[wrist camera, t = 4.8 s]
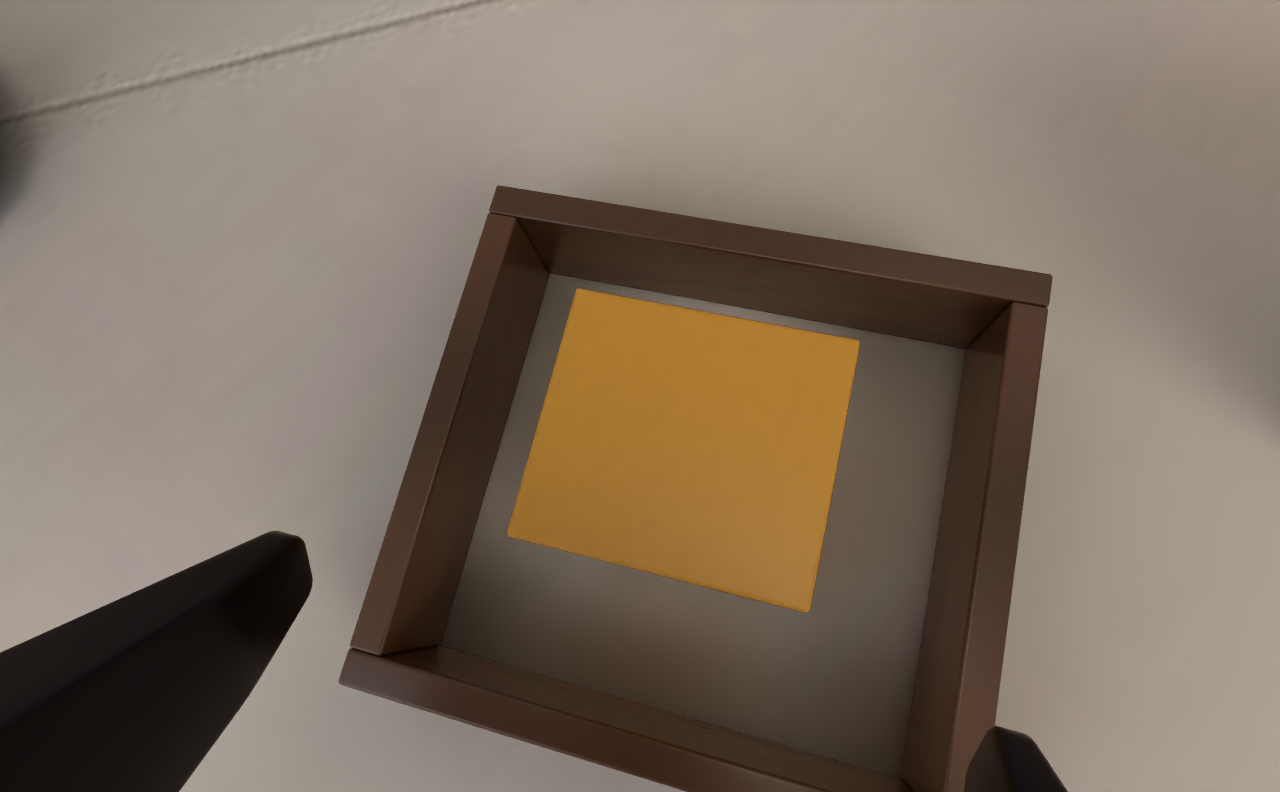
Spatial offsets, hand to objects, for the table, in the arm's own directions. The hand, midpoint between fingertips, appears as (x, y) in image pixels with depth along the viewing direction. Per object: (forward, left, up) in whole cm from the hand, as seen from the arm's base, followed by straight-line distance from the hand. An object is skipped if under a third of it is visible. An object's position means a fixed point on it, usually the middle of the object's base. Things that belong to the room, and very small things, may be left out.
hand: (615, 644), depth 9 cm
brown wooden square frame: (+2, +3, -10) cm, 11 cm away
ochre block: (+2, +3, -10) cm, 11 cm away
